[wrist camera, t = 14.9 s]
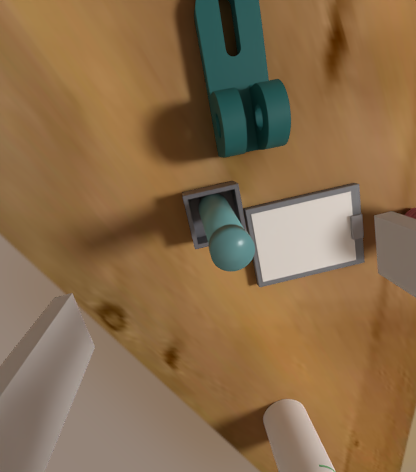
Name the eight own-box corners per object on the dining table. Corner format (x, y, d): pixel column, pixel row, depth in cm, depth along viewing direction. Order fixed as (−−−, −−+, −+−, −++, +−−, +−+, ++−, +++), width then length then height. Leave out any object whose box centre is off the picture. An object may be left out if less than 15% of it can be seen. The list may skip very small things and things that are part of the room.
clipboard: (243, 208, 40) (246, 211, 39) (353, 182, 41) (361, 184, 39) (257, 283, 43) (260, 289, 42) (359, 259, 44) (367, 263, 42)
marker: (193, 191, 38) (207, 235, 25) (224, 185, 38) (252, 227, 25) (198, 219, 40) (214, 275, 27) (227, 214, 40) (256, 266, 27)
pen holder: (182, 192, 39) (182, 196, 36) (232, 180, 39) (238, 183, 36) (193, 241, 41) (195, 249, 37) (242, 229, 41) (247, 237, 38)
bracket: (271, 145, 39) (294, 145, 31) (218, 156, 38) (228, 158, 31) (249, -24, 34) (270, -74, 26) (188, -13, 33) (191, -61, 26)
